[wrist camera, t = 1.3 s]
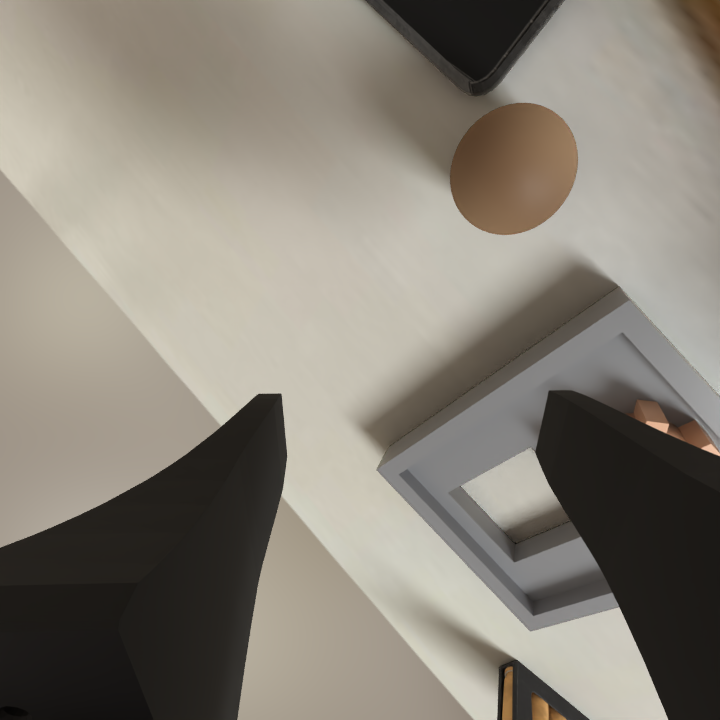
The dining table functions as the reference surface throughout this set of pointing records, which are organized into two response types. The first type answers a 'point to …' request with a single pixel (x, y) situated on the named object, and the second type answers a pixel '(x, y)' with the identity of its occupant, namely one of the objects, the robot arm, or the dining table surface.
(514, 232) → the brown rounded cylinder
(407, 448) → the housing
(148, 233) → the dining table surface
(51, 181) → the dining table surface
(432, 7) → the phone
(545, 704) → the ammunition clip
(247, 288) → the dining table surface
